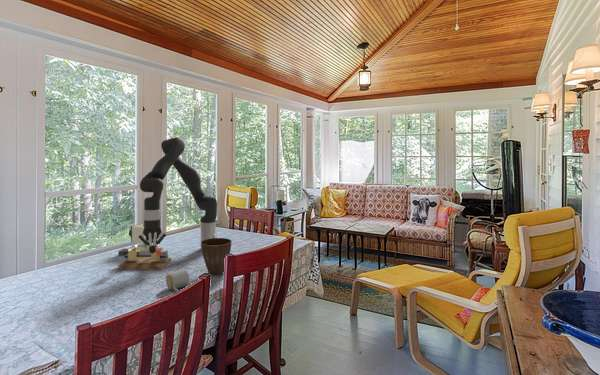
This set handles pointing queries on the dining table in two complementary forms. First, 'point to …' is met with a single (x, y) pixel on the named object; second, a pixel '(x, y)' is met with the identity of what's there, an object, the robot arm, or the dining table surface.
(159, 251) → the red lever
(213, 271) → the plant pot
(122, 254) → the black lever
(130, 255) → the pipe manifold
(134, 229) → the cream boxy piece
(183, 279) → the ceramic mug
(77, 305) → the dining table surface
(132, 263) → the base board
